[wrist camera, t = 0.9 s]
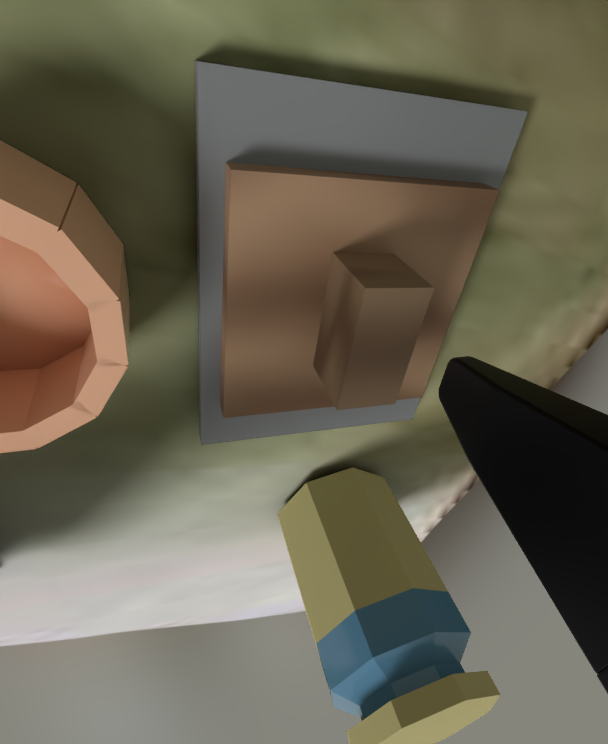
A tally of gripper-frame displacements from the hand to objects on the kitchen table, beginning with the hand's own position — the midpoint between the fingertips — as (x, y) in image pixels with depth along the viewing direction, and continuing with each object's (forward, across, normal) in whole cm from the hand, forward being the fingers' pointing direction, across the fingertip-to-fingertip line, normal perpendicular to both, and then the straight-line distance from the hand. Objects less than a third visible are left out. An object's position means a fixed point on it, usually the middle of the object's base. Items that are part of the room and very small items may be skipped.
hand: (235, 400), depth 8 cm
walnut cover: (+12, -7, +5) cm, 15 cm away
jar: (+13, -10, +23) cm, 28 cm away
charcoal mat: (+13, -8, +5) cm, 16 cm away
